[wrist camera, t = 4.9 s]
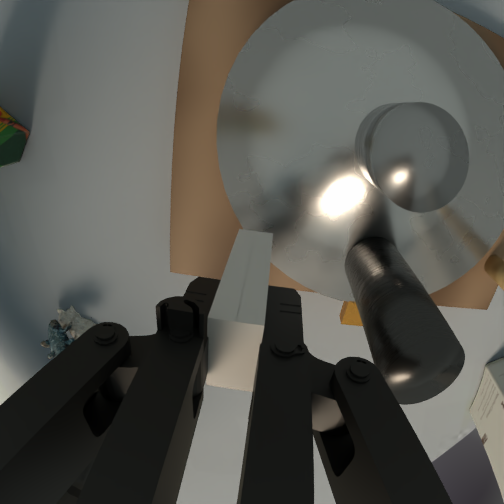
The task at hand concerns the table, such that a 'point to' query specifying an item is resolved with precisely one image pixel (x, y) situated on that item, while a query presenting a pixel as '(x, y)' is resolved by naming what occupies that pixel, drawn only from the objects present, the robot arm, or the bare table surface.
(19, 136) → the crayon box
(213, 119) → the walnut board
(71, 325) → the sculpture
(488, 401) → the skincare box
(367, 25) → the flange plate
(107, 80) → the table surface
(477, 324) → the table surface
